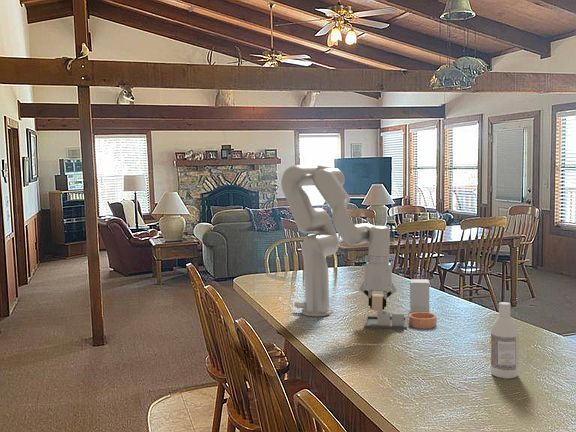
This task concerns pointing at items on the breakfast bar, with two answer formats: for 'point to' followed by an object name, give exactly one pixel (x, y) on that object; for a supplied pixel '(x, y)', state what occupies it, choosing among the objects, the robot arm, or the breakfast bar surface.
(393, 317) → the grey cube
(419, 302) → the supplement box
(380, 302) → the beige rectangular block
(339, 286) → the breakfast bar surface
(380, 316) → the grey cube
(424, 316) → the bowl
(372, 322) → the tray
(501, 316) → the bath foam
